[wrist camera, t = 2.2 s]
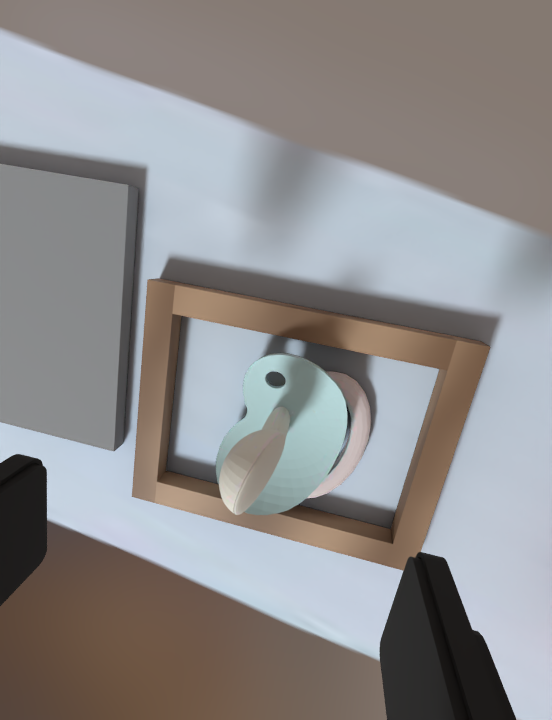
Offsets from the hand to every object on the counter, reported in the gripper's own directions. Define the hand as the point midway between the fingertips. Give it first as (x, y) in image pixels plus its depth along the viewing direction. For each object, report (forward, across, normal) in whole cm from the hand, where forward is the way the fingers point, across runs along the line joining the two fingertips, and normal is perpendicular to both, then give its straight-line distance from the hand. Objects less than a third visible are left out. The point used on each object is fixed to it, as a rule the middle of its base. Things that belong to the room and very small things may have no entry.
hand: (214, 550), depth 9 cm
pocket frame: (+8, -1, 0) cm, 8 cm away
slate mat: (+9, +14, -3) cm, 17 cm away
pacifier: (+9, -2, 0) cm, 9 cm away
